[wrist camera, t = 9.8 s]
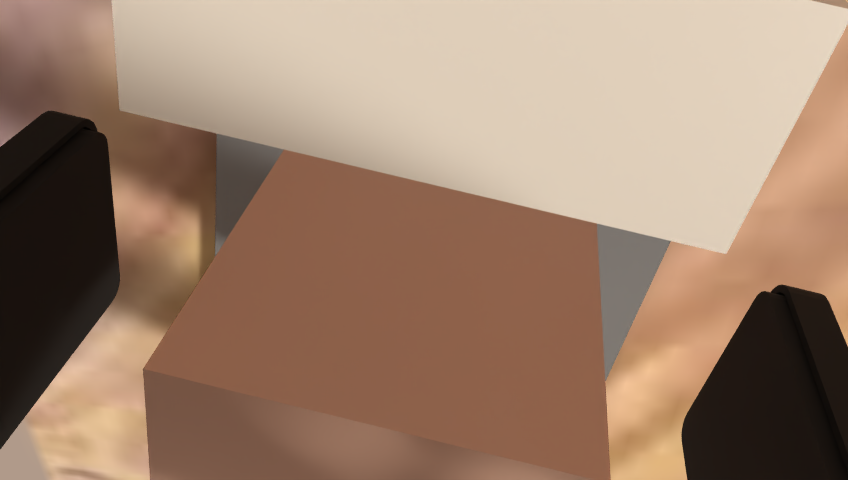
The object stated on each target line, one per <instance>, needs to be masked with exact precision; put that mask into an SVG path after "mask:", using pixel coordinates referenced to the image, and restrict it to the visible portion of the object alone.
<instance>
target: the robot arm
mask: <svg viewBox="0 0 848 480" xmlns="http://www.w3.org/2000/svg"><path fill="white" fill-rule="evenodd" d="M119 282H120V272H119V261H118V250H117V239H116V228H115V218H114V207H113V196H112V185H111V174H110V163H109V152H108V143H107V139H106V137H105V135H104V134H102V133H99V132H97V128H96V126H95V124H94V122H92V121H91V120H89V119H85V118H81V117H76V116H72V115H68V114H64V113H60V112H55V111H47V112H45V113H43V114H42V115H40V116H39V117H38V118H37V119H35V120H34V121H33V122H31V123H30V124H29V125H28V126H26V127H25V128H24V129H23V130H21V131H20V132H19V133H18V134H16V135H15V136H14V137H13V138H11V139H10V140H9V141H7V142H6V143H5V144H4V145H2V146H1V147H0V449H1V448H2V446H3V445H4V444H5V442H6V441H7V440H8V439H9V437H10V436H11V434H12V433H13V432H14V431H15V429H16V428H17V427H18V425H19V424H20V423H21V421H22V420H23V419H24V417H25V416H26V415H27V413H28V412H29V411H30V409H31V408H32V407H33V406H34V404H35V403H36V402H37V400H38V399H39V398H40V396H41V395H42V394H43V392H44V391H45V390H46V388H47V387H48V386H49V384H50V383H51V382H52V380H53V379H54V378H55V377H56V375H57V374H58V373H59V371H60V370H61V369H62V367H63V366H64V365H65V363H66V362H67V361H68V359H69V358H70V357H71V355H72V354H73V353H74V351H75V350H76V349H77V347H78V346H79V345H80V344H81V342H82V341H83V340H84V338H85V337H86V336H87V334H88V333H89V332H90V330H91V329H92V328H93V326H94V325H95V324H96V322H97V321H98V320H99V318H100V317H101V316H102V315H103V313H104V312H105V311H106V309H107V308H108V307H109V305H110V304H111V303H112V301H113V300H114V298H115V296H116V293H117V291H118V287H119ZM682 445H683V452H684V459H685V466H686V473H687V480H848V346H847V344H846V342H845V339H844V337H843V334H842V332H841V330H840V327H839V325H838V322H837V320H836V318H835V315H834V313H833V311H832V308H831V306H830V303H829V301H828V300H827V298H826V297H825V296H824V295H822V294H820V293H815V292H811V291H807V290H803V289H799V288H794V287H790V286H786V285H778V286H777V287H775V288H774V289H773V290H772V291H771V293H770V292H766V291H763V292H761V293H759V294H758V295H757V297H756V298H755V300H754V301H753V303H752V305H751V306H750V308H749V310H748V311H747V313H746V315H745V317H744V318H743V320H742V322H741V323H740V325H739V327H738V328H737V330H736V332H735V333H734V335H733V337H732V338H731V340H730V342H729V344H728V345H727V347H726V349H725V350H724V352H723V354H722V355H721V357H720V359H719V360H718V362H717V364H716V365H715V367H714V369H713V371H712V372H711V374H710V376H709V377H708V379H707V381H706V382H705V384H704V386H703V387H702V389H701V391H700V392H699V394H698V396H697V398H696V399H695V401H694V403H693V404H692V406H691V408H690V409H689V411H688V413H687V415H686V417H685V419H684V423H683V427H682Z"/></svg>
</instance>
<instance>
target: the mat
mask: <svg viewBox="0 0 848 480" xmlns="http://www.w3.org/2000/svg"><path fill="white" fill-rule="evenodd" d="M283 150H284V149H280V148H276V147H272V146H267V145H263V144H259V143H255V142H250V141H246V140H242V139H238V138H234V137H229V136H225V135H221V134H217V152H216V225H215V256H216V255H217V253H218V252H219V250H220V248H221V247H222V245H223V244H224V242H225V241H226V239H227V238H228V236H229V234H230V233H231V231H232V230H233V228H234V227H235V225H236V224H237V222H238V220H239V219H240V217H241V216H242V214H243V213H244V211H245V209H246V208H247V206H248V205H249V203H250V202H251V200H252V199H253V197H254V195H255V194H256V192H257V191H258V189H259V188H260V186H261V185H262V183H263V181H264V180H265V178H266V177H267V175H268V174H269V172H270V171H271V169H272V167H273V166H274V164H275V163H276V161H277V160H278V158H279V157H280V155H281V153H282V152H283ZM597 237H598V255H599V274H600V293H601V311H602V330H603V348H604V367H605V381H606V379H607V377H608V374H609V372H610V370H611V368H612V366H613V364H614V362H615V359H616V357H617V355H618V353H619V351H620V349H621V347H622V344H623V342H624V340H625V338H626V336H627V334H628V332H629V329H630V327H631V325H632V323H633V321H634V319H635V317H636V314H637V312H638V310H639V308H640V306H641V304H642V302H643V299H644V297H645V295H646V293H647V291H648V289H649V287H650V284H651V282H652V280H653V278H654V276H655V274H656V272H657V269H658V267H659V265H660V263H661V261H662V259H663V257H664V254H665V252H666V250H667V248H668V246H669V244H670V242H671V241H669V240H665V239H660V238H656V237H652V236H648V235H643V234H639V233H635V232H631V231H626V230H622V229H618V228H614V227H610V226H605V225H601V224H597Z"/></svg>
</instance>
